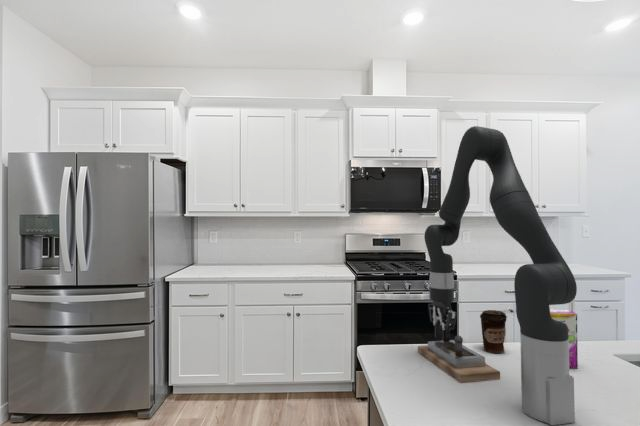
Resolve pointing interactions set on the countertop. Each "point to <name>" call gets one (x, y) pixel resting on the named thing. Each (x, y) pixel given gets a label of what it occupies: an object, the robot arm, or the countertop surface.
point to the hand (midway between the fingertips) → (442, 339)
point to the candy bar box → (569, 332)
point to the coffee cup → (493, 330)
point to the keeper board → (464, 373)
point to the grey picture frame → (467, 361)
